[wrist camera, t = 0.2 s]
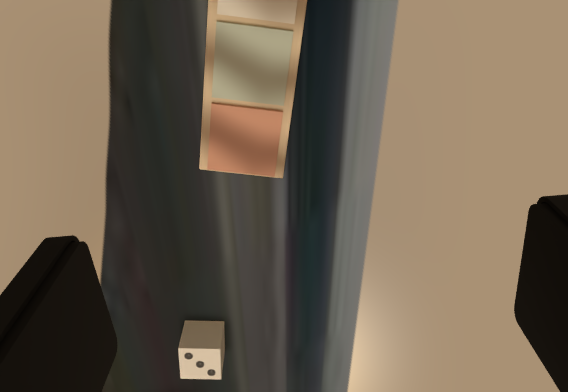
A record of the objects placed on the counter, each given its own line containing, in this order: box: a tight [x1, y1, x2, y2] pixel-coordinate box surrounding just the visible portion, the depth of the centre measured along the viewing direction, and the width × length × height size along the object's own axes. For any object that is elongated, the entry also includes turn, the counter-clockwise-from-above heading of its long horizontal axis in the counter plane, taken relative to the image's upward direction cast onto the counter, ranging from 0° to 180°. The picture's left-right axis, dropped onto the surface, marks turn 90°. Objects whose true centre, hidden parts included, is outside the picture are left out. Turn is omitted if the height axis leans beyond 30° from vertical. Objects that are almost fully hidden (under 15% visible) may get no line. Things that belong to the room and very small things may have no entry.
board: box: [199, 0, 307, 178], centre depth 44 cm, size 21×8×2 cm, turn 173°
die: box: [178, 320, 225, 379], centre depth 57 cm, size 5×4×5 cm
